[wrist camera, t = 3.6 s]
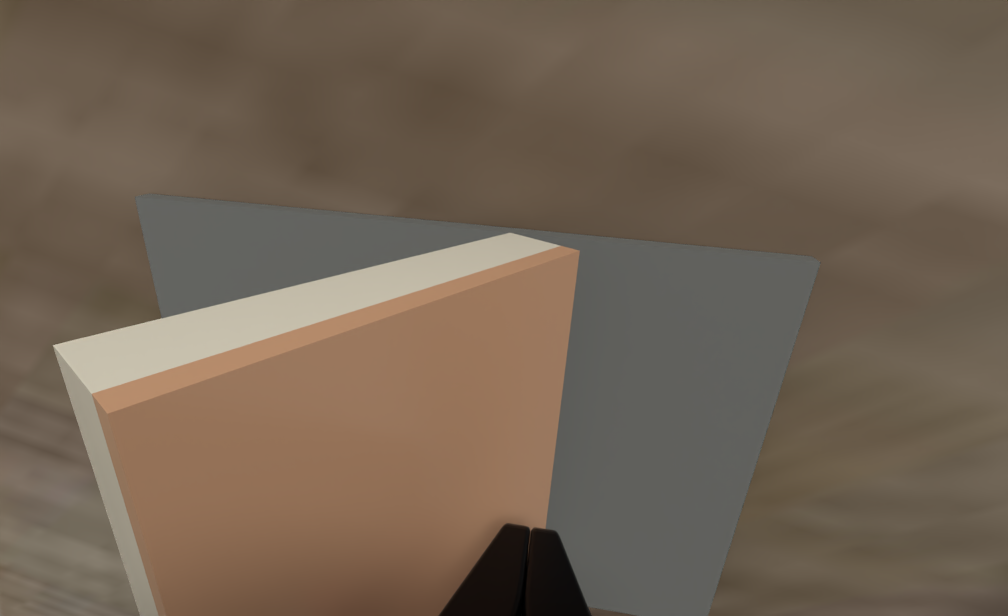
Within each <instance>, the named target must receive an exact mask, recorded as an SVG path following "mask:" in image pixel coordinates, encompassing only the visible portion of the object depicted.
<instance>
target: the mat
mask: <svg viewBox="0 0 1008 616" xmlns="http://www.w3.org/2000/svg"><path fill="white" fill-rule="evenodd" d="M135 200H136V205H137V209H138V214H139V218H140V223H141V227H142V232H143V236H144V241H145V245H146V250H147V254H148V258H149V263H150V267H151V272H152V276H153V281H154V285H155V290H156V294H157V299H158V303H159V308H160V312H161V317H162V318H166V317H170V316H174V315H178V314H182V313H186V312H190V311H194V310H198V309H202V308H207V307H211V306H215V305H219V304H223V303H227V302H231V301H235V300H239V299H243V298H247V297H251V296H255V295H259V294H263V293H267V292H271V291H276V290H280V289H284V288H288V287H292V286H296V285H300V284H304V283H308V282H312V281H316V280H320V279H324V278H328V277H332V276H336V275H340V274H345V273H349V272H353V271H357V270H361V269H365V268H369V267H373V266H377V265H381V264H385V263H389V262H393V261H397V260H401V259H405V258H409V257H414V256H418V255H422V254H426V253H430V252H434V251H438V250H442V249H446V248H450V247H454V246H458V245H462V244H466V243H470V242H474V241H478V240H483V239H487V238H491V237H495V236H499V235H503V234H507V233H513V234H517V235H521V236H525V237H529V238H533V239H537V240H541V241H544V242H548V243H552V244H556V245H560V246H564V247H568V248H571V249H575V250H579V251H580V253H579V261H578V269H577V277H576V285H575V294H574V302H573V310H572V318H571V326H570V334H569V342H568V350H567V358H566V366H565V375H564V383H563V391H562V399H561V407H560V415H559V423H558V431H557V439H556V447H555V455H554V464H553V472H552V480H551V488H550V496H549V504H548V512H547V520H546V528H545V529H550V530H555V531H556V532H558V534H559V536H560V538H561V541H562V543H563V546H564V548H565V551H566V553H567V556H568V558H569V561H570V563H571V566H572V568H573V571H574V573H575V576H576V578H577V581H578V583H579V586H580V588H581V591H582V593H583V596H584V598H585V601H586V603H587V606H588V607H592V608H598V609H604V610H609V611H615V612H621V613H626V614H632V615H638V616H708V614H709V610H710V607H711V604H712V601H713V598H714V595H715V592H716V589H717V585H718V582H719V579H720V576H721V573H722V570H723V567H724V563H725V560H726V557H727V554H728V551H729V548H730V545H731V542H732V538H733V535H734V532H735V529H736V526H737V523H738V520H739V517H740V513H741V510H742V507H743V504H744V501H745V498H746V495H747V491H748V488H749V485H750V482H751V479H752V476H753V473H754V470H755V466H756V463H757V460H758V457H759V454H760V451H761V448H762V445H763V441H764V438H765V435H766V432H767V429H768V426H769V423H770V419H771V416H772V413H773V410H774V407H775V404H776V401H777V398H778V394H779V391H780V388H781V385H782V382H783V379H784V376H785V373H786V369H787V366H788V363H789V360H790V357H791V354H792V351H793V347H794V344H795V341H796V338H797V335H798V332H799V329H800V326H801V322H802V319H803V316H804V313H805V310H806V307H807V304H808V300H809V297H810V294H811V291H812V288H813V285H814V282H815V279H816V275H817V272H818V269H819V266H820V263H821V262H819V261H818V260H816V259H815V258H813V257H812V256H802V255H792V254H781V253H771V252H760V251H750V250H739V249H728V248H718V247H707V246H697V245H686V244H676V243H665V242H655V241H644V240H633V239H623V238H612V237H602V236H591V235H581V234H570V233H559V232H549V231H538V230H528V229H517V228H507V227H496V226H486V225H475V224H464V223H454V222H443V221H433V220H422V219H412V218H401V217H391V216H380V215H369V214H359V213H348V212H338V211H327V210H317V209H306V208H296V207H285V206H274V205H264V204H253V203H243V202H232V201H222V200H211V199H200V198H190V197H179V196H169V195H158V194H145V195H141V196H136V197H135Z"/></svg>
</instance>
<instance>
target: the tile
mask: <svg viewBox="0 0 1008 616" xmlns="http://www.w3.org/2000/svg"><path fill="white" fill-rule="evenodd" d="M579 253H580V251H579V250H575V249H571V248H568V247H564V246H560V245H556V244H552V243H548V242H544V241H541V240H537V239H533V238H529V237H525V236H521V235H517V234H513V233H507V234H503V235H499V236H495V237H491V238H487V239H483V240H478V241H474V242H470V243H466V244H462V245H458V246H454V247H450V248H446V249H442V250H438V251H434V252H430V253H426V254H422V255H418V256H414V257H409V258H405V259H401V260H397V261H393V262H389V263H385V264H381V265H377V266H373V267H369V268H365V269H361V270H357V271H353V272H349V273H345V274H340V275H336V276H332V277H328V278H324V279H320V280H316V281H312V282H308V283H304V284H300V285H296V286H292V287H288V288H284V289H280V290H276V291H271V292H267V293H263V294H259V295H255V296H251V297H247V298H243V299H239V300H235V301H231V302H227V303H223V304H219V305H215V306H211V307H207V308H202V309H198V310H194V311H190V312H186V313H182V314H178V315H174V316H170V317H166V318H162V319H158V320H154V321H150V322H146V323H142V324H138V325H133V326H129V327H125V328H121V329H117V330H113V331H109V332H105V333H101V334H97V335H93V336H89V337H85V338H81V339H77V340H73V341H69V342H64V343H60V344H56V345H53V347H54V350H55V353H56V356H57V359H58V362H59V365H60V368H61V372H62V375H63V378H64V381H65V384H66V387H67V390H68V393H69V396H70V399H71V403H72V406H73V409H74V412H75V415H76V418H77V421H78V424H79V427H80V430H81V434H82V437H83V440H84V443H85V446H86V449H87V452H88V455H89V458H90V461H91V465H92V468H93V471H94V474H95V477H96V480H97V483H98V486H99V489H100V492H101V496H102V499H103V502H104V505H105V508H106V511H107V514H108V517H109V520H110V523H111V527H112V530H113V533H114V536H115V539H116V542H117V545H118V548H119V551H120V554H121V558H122V561H123V564H124V567H125V570H126V573H127V576H128V579H129V582H130V585H131V589H132V592H133V595H134V598H135V601H136V604H137V607H138V610H139V613H140V616H438V615H439V614H440V612H441V611H442V610H443V608H444V607H445V605H446V604H447V603H448V601H449V600H450V598H451V597H452V596H453V594H454V593H455V592H456V590H457V589H458V587H459V586H460V585H461V583H462V582H463V580H464V579H465V578H466V576H467V575H468V573H469V572H470V571H471V569H472V568H473V566H474V565H475V564H476V562H477V561H478V559H479V558H480V557H481V555H482V554H483V552H484V551H485V550H486V548H487V547H488V545H489V544H490V543H491V541H492V540H493V538H494V537H495V536H496V534H497V533H498V532H499V530H500V529H501V527H502V526H503V525H504V524H506V523H512V524H518V525H524V526H528V527H529V528H530V533H531V530H532V528H534V527H537V528H544V529H545V528H546V520H547V512H548V504H549V496H550V488H551V480H552V472H553V464H554V455H555V447H556V439H557V431H558V423H559V415H560V407H561V399H562V391H563V383H564V375H565V366H566V358H567V350H568V342H569V334H570V326H571V318H572V310H573V302H574V294H575V285H576V277H577V269H578V261H579ZM529 542H530V540H529ZM528 551H529V549H528ZM527 560H528V559H527Z"/></svg>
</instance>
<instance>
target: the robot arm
mask: <svg viewBox="0 0 1008 616" xmlns="http://www.w3.org/2000/svg"><path fill="white" fill-rule="evenodd" d="M529 540H530V542H529ZM528 549H529V551H528ZM527 559H528V560H527ZM521 613H522V614H521ZM438 616H591V613H590V611H589V608H588V606H587V603H586V601H585V598H584V596H583V593H582V591H581V588H580V586H579V583H578V581H577V578H576V576H575V573H574V571H573V568H572V566H571V563H570V561H569V558H568V556H567V553H566V551H565V548H564V546H563V543H562V541H561V538H560V536H559V534H558V532H556V531H555V530H550V529H544V528H537V527H534V528H532V530H531V533H530V528H529V527H528V526H524V525H518V524H512V523H506V524H504V525H503V526H502V527H501V529H500V530H499V532H498V533H497V534H496V536H495V537H494V538H493V540H492V541H491V543H490V544H489V545H488V547H487V548H486V550H485V551H484V552H483V554H482V555H481V557H480V558H479V559H478V561H477V562H476V564H475V565H474V566H473V568H472V569H471V571H470V572H469V573H468V575H467V576H466V578H465V579H464V580H463V582H462V583H461V585H460V586H459V587H458V589H457V590H456V592H455V593H454V594H453V596H452V597H451V598H450V600H449V601H448V603H447V604H446V605H445V607H444V608H443V610H442V611H441V612H440V614H439V615H438Z"/></svg>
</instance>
